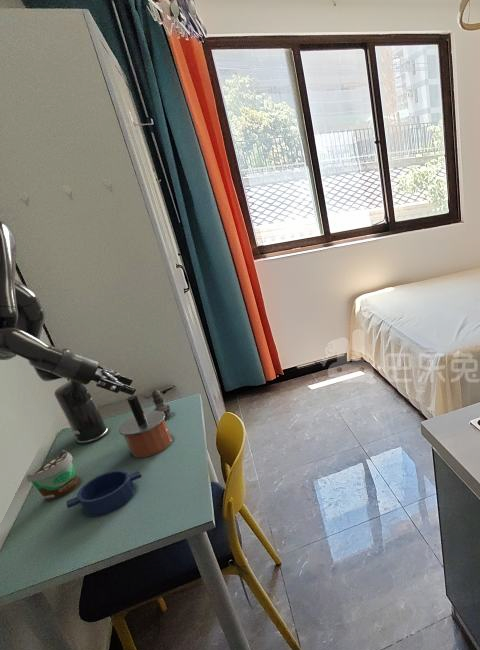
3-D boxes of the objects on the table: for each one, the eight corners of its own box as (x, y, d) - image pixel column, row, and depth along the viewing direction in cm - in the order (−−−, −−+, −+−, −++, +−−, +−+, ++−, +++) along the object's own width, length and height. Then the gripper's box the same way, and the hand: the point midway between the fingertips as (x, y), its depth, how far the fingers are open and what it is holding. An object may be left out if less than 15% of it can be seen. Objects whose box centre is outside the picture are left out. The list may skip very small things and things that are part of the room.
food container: (58, 504, 125) (42, 477, 121) (41, 503, 126) (24, 476, 122) (93, 475, 136) (79, 449, 132) (77, 475, 137) (63, 448, 133)
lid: (117, 425, 146) (105, 398, 142) (162, 409, 153) (151, 383, 148) (122, 442, 135) (109, 414, 131) (169, 424, 142) (158, 397, 138)
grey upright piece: (153, 421, 163) (141, 393, 158) (163, 412, 168) (152, 385, 163) (167, 421, 162) (155, 392, 157) (176, 412, 167) (166, 384, 162)
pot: (130, 445, 149) (119, 423, 146) (168, 430, 155) (159, 409, 152) (134, 462, 140) (124, 438, 136) (175, 445, 146) (166, 422, 142)
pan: (72, 503, 125) (65, 489, 123) (142, 473, 134) (136, 460, 132) (73, 528, 115) (65, 514, 113) (148, 495, 124) (142, 481, 122)
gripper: (82, 363, 124) (142, 384, 134) (81, 349, 134) (136, 369, 145) (68, 386, 123) (129, 406, 134) (67, 371, 134) (124, 389, 144)
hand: (132, 387), depth 139 cm, fingers open, 8 cm apart
